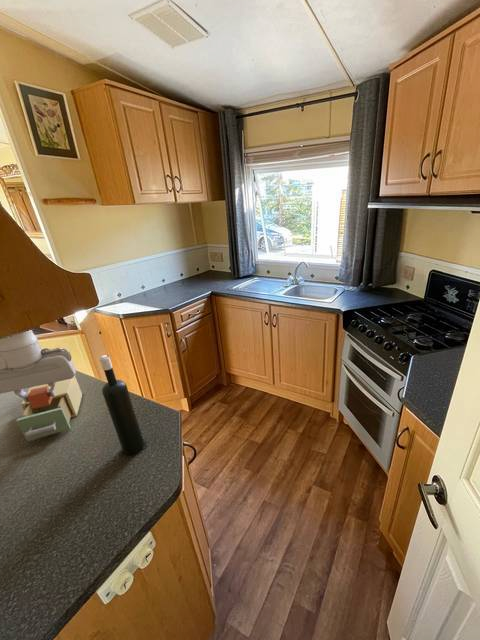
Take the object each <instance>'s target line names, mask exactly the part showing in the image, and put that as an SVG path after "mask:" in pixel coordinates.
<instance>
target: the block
mask: <svg viewBox="0 0 480 640" xmlns="http://www.w3.org/2000/svg"><path fill="white" fill-rule="evenodd" d="M48 389H49V387H48V386H46V387H41V388H36V389H32V390H31V391H30V393H29V394H28V396H27V398H28V400H29V402H30V404H31V406H32V408H33V409H34V408H38V407H43V406H47V405H50V403H51V401H52V398H53V397H48V395H47V390H48Z"/></svg>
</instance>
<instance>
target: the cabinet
mask: <svg viewBox="0 0 480 640" xmlns="http://www.w3.org/2000/svg"><path fill="white" fill-rule="evenodd" d="M46 386H48V384H44V385H39V386H35V387H30V388H28V391H27V392H26V393H27V394H29V393H30V391H31V390H32V389H36V388H41V387H46ZM48 387H49V386H48ZM49 389H51V386H50V387H49ZM54 390H55V396H53V398H57V397H61V396H66V398H67V401H68V403H69V405H70V408H71V410H72V414H71V417H70V419H71V418H75V417H78V415H79V414H78V413H79V411H80V410H79V409H80V405H81V401H82V397H83V393H82V390H81V387H80V384H79V381H78V380H77V377H76V375H75V376H74V377H73V378H72V379H68V380H63V381H58V382H56V384H55V387H54ZM53 398H52V399H53ZM28 404H30V402H26V403H25V401H24V399H22V402H21V404H20V405H21V407H22V409H23V412H24V411H25V409H26V407H27V405H28Z"/></svg>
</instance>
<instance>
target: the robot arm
mask: <svg viewBox="0 0 480 640" xmlns="http://www.w3.org/2000/svg"><path fill="white" fill-rule="evenodd" d="M42 349H43V348H42V346H41V344H40V342H39V339H38V337H37V336H36V334H35V333H34V332H33V329H32V330H29V331H26V332H23V333H20V334H17V335H14V336H12V337H8V338H5V339H2V340H0V395H1V394H6V393H10V392H13V393H14V395H15V396H18V397H19V398H22V400H24V401H25V403H26V402H29V400H28V398H27V396H28V394H27V393H28V392H25V390H24V389H30V387H35V386H39V385H44V384H48V386H49V387H50V386H51V389H48V390H47V395H48V397H53V396H55V390H54V387H55V384H56V382H58V381H63V380H68V379H72V378H73V377H74V376H75V377H76V375H77V368H76V367H75V364H74V362H73V361H72V354H71V351H70V350H68V349H66V348H63V347H55V348H47V349H48V350H43V351H42Z"/></svg>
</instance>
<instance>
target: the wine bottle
mask: <svg viewBox="0 0 480 640" xmlns="http://www.w3.org/2000/svg"><path fill="white" fill-rule="evenodd" d="M98 359H99V361H100V365H101V367H102V370H103V373H104V375H105V378H106V382H107V383H105V384H104V385H103V386H102V389H101V393H102V395H103V398H104V402H105V404H106V407H107V410H108V412H109V415H110V418H111V421H112V424H113V426H114V429H115V432H116V435H117V438H118V441H119V444H120V447H121V450H122V452H123V454H124V455H126V456H133V455H136V454H138V453H140V452H141V451H142V450H143V449H144V447H145V440H144V438H143V434H142V431H141V428H140V425H139V421H138V418H137V415H136V412H135V408H134V405H133V402H132V399H131V395H130V391H129V388H128V386H127V384H126V382H125V381H124V380H122V379H117V378H116V374H115V371H114V369H113V368H114V367H113V364H112V360H111V357H110V355H109V354H108V355H107V354H103V355H102V356H100V357H98Z"/></svg>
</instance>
